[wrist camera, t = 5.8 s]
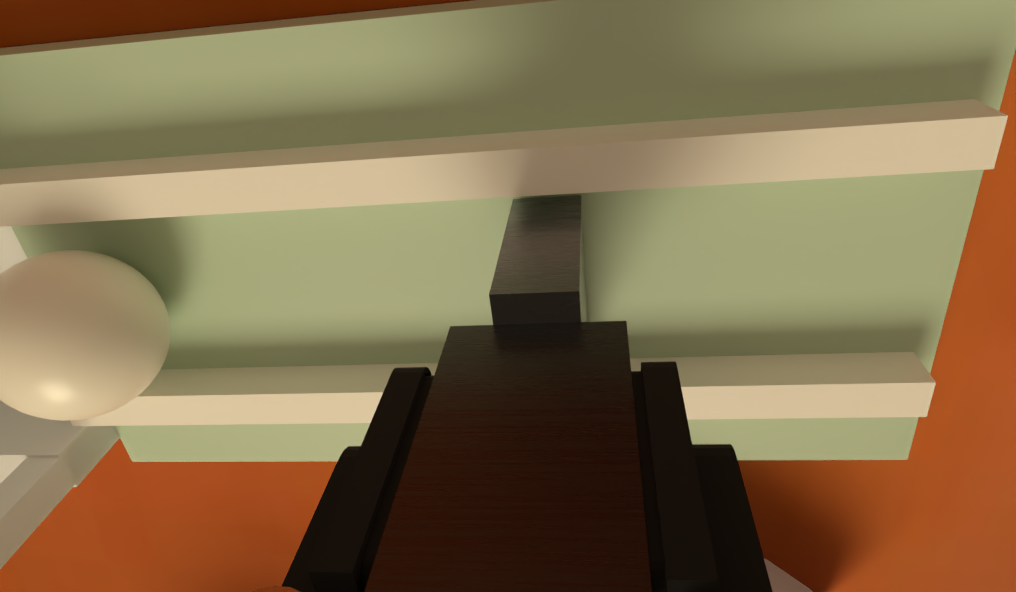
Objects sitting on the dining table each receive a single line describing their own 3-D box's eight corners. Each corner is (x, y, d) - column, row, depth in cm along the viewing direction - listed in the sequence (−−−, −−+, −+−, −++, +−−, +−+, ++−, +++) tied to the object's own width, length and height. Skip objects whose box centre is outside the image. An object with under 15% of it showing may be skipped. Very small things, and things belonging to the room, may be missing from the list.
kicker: (616, 192, 14) (655, 588, 6) (619, 352, 16) (653, 809, 8) (479, 200, 15) (342, 580, 7) (500, 355, 17) (415, 794, 9)
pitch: (995, -53, 13) (1084, -43, 11) (885, 422, 19) (927, 494, 17) (-21, 50, 16) (-123, 74, 14) (158, 429, 22) (108, 490, 20)
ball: (85, 212, 17) (168, 238, 15) (143, 340, 19) (224, 380, 17) (-99, 281, 14) (-30, 325, 12) (-10, 422, 16) (64, 481, 14)
